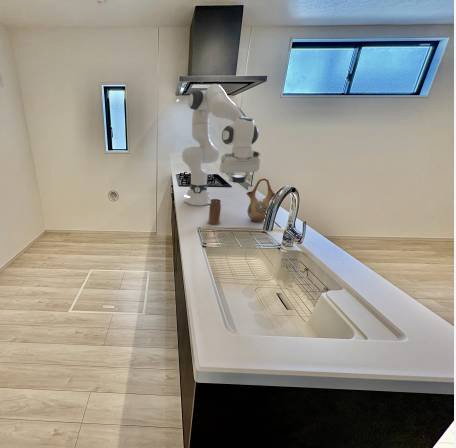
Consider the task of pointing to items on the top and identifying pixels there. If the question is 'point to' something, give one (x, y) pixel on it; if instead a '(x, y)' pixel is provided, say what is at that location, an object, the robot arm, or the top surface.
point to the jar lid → (238, 178)
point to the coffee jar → (214, 211)
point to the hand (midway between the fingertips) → (237, 181)
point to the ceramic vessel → (259, 203)
